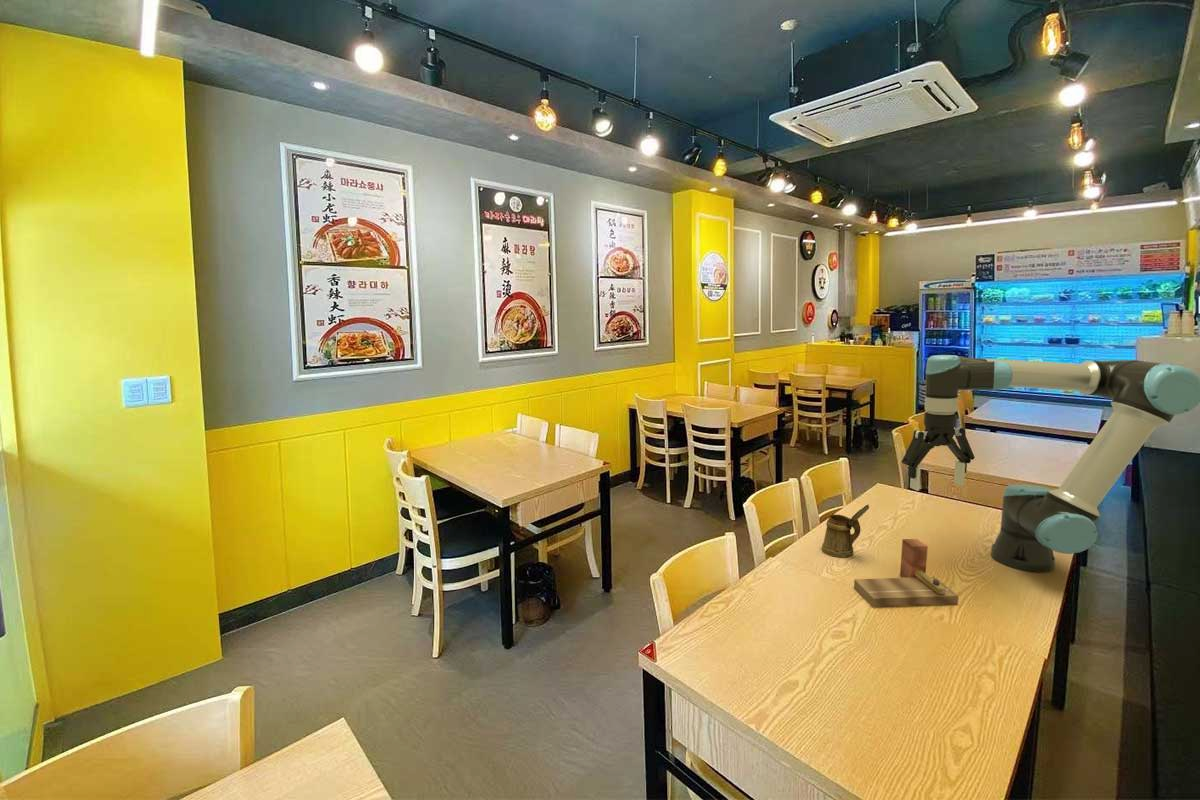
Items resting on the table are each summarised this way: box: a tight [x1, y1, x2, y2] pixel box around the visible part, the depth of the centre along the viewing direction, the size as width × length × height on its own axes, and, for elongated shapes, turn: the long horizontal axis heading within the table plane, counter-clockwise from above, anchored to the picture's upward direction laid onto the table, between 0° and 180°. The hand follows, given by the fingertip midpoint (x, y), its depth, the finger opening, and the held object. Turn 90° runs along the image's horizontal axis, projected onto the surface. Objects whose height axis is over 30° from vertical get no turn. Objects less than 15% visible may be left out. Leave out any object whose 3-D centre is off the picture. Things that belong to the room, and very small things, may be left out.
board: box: [853, 576, 959, 608], centre depth 143 cm, size 22×10×3 cm, turn 91°
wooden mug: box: [821, 504, 870, 558], centre depth 167 cm, size 9×14×18 cm, turn 37°
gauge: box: [899, 538, 946, 594], centre depth 145 cm, size 4×15×11 cm, turn 1°
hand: (936, 486), depth 150 cm, fingers open, 13 cm apart
